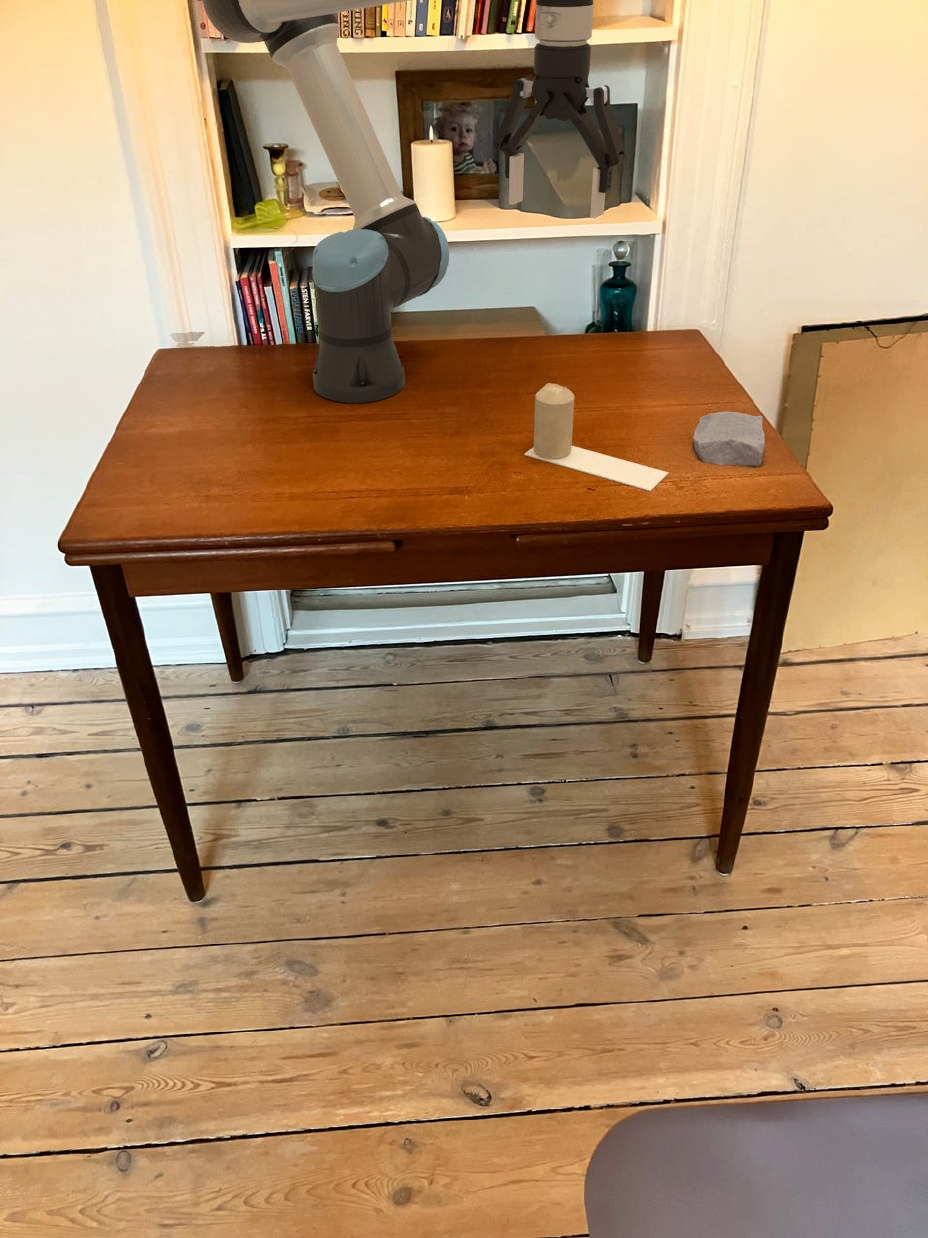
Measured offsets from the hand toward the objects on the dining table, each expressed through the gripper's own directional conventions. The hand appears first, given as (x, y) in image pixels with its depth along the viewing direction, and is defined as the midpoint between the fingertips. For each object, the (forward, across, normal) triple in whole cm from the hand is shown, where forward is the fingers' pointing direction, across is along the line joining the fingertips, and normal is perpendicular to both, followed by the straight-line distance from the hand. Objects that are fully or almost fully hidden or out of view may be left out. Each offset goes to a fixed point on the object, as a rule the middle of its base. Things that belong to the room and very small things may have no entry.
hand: (555, 209), depth 145 cm
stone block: (+29, +32, -2) cm, 43 cm away
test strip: (+29, +18, -17) cm, 38 cm away
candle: (+29, +11, -17) cm, 35 cm away
